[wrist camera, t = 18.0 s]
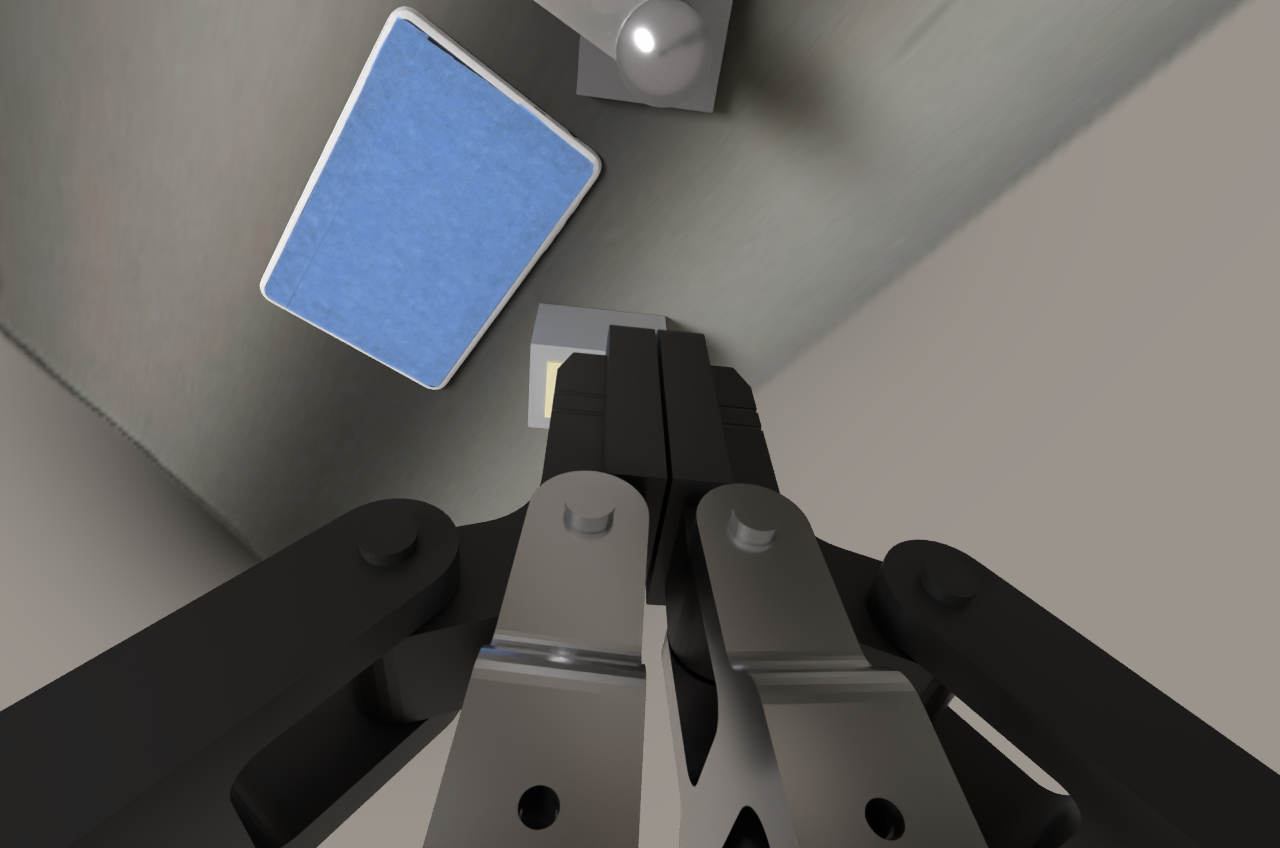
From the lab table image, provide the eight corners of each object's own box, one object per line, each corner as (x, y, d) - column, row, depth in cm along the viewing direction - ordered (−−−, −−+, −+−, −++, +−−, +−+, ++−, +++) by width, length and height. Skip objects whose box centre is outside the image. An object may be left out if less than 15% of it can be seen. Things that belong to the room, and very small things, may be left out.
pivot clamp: (738, -54, 31) (762, -48, 26) (710, 107, 35) (725, 141, 30) (588, -78, 30) (581, -77, 25) (577, 89, 35) (569, 120, 29)
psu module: (664, 316, 43) (669, 359, 39) (652, 393, 46) (655, 439, 42) (539, 303, 42) (530, 345, 38) (536, 382, 46) (527, 428, 41)
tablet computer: (402, -5, 32) (394, -3, 31) (609, 159, 37) (609, 166, 36) (261, 285, 41) (251, 294, 40) (443, 387, 46) (439, 398, 45)
